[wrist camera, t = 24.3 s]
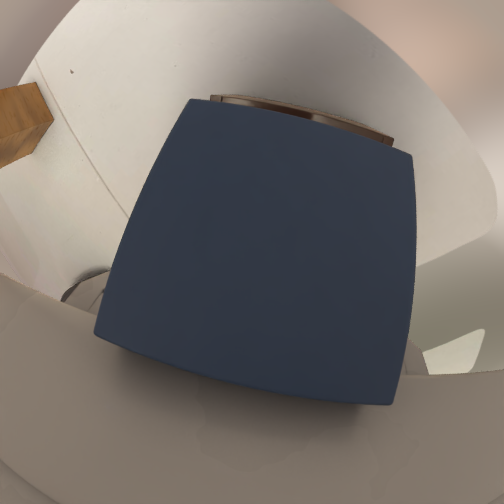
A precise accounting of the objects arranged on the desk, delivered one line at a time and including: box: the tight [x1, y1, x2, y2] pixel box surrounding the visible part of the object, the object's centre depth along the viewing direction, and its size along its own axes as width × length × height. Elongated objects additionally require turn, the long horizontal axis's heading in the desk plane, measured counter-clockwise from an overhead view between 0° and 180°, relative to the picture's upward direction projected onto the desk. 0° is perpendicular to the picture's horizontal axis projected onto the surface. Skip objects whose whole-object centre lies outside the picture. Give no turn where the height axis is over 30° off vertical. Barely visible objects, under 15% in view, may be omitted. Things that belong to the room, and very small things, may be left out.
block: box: [93, 99, 417, 406], centre depth 6 cm, size 5×5×5 cm
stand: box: [0, 82, 54, 168], centre depth 21 cm, size 8×8×10 cm
